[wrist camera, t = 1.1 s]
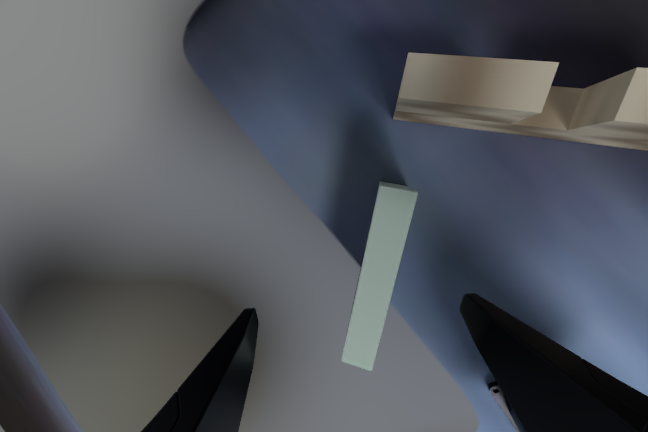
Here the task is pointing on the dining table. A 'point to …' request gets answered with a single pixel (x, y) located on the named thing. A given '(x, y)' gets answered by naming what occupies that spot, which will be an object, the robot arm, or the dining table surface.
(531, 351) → the robot arm
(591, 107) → the birch slotted board
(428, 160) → the dining table surface
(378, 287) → the pale green slotted board
